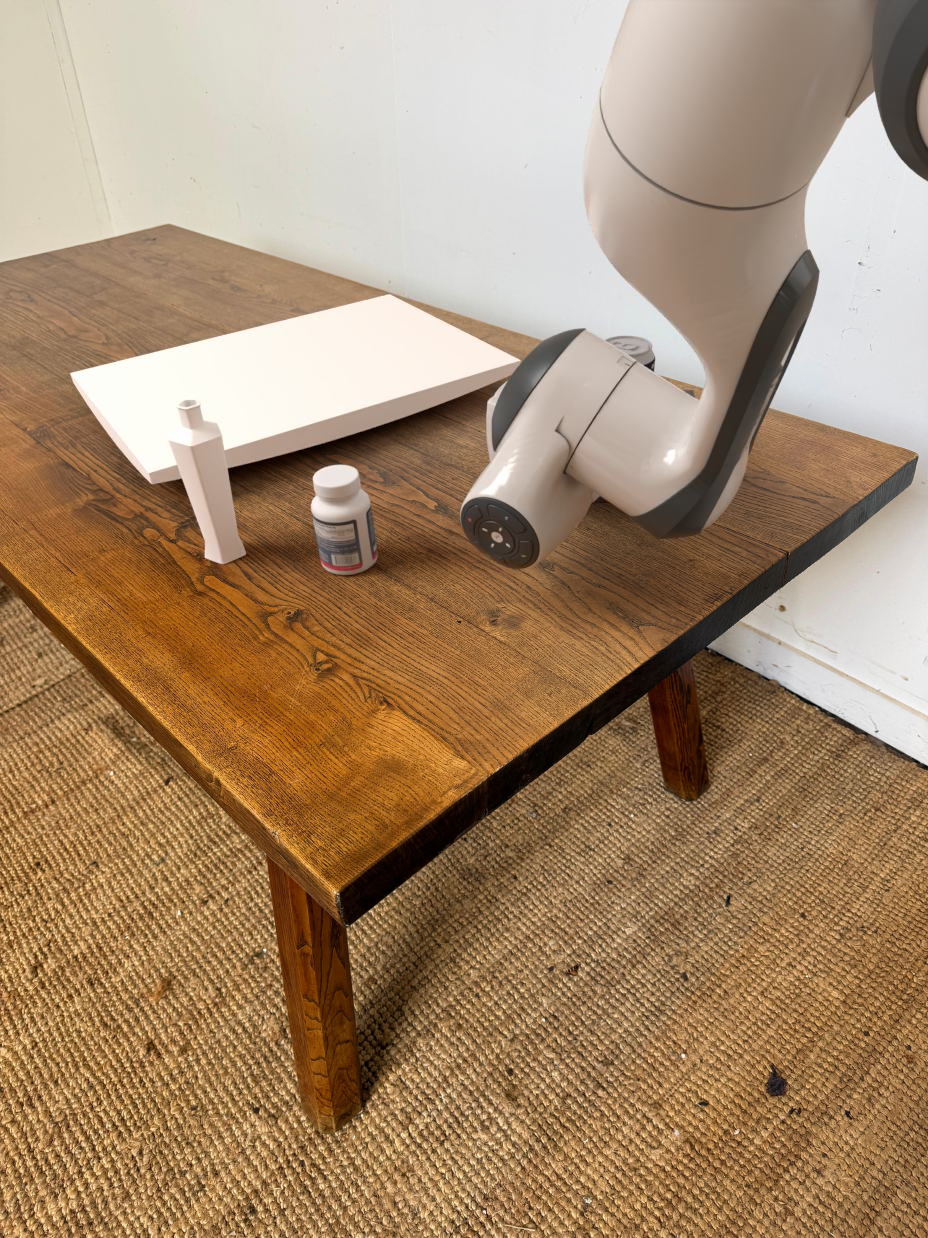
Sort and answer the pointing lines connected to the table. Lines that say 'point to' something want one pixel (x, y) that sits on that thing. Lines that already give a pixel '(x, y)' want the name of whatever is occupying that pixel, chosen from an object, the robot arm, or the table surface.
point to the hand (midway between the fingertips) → (625, 387)
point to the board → (290, 382)
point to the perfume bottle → (207, 481)
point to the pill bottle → (343, 521)
